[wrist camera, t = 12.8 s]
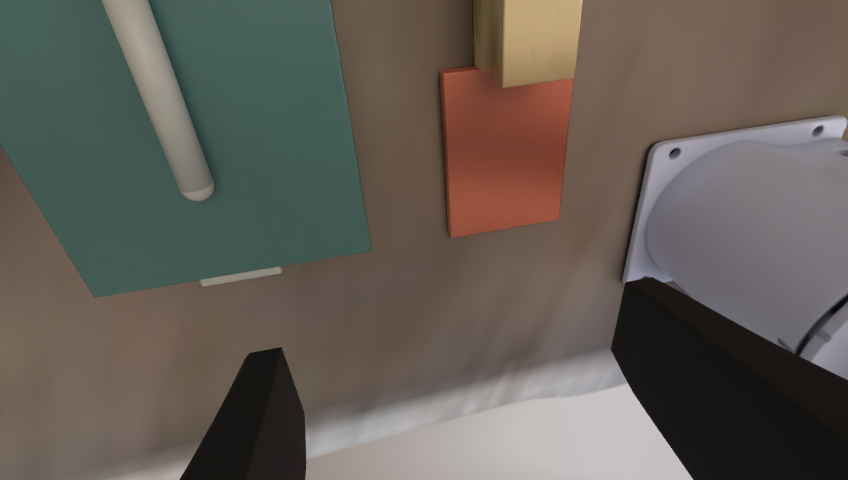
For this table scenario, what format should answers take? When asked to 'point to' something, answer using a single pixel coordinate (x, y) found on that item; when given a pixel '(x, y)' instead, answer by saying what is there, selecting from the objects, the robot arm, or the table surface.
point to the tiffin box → (182, 136)
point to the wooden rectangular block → (510, 115)
